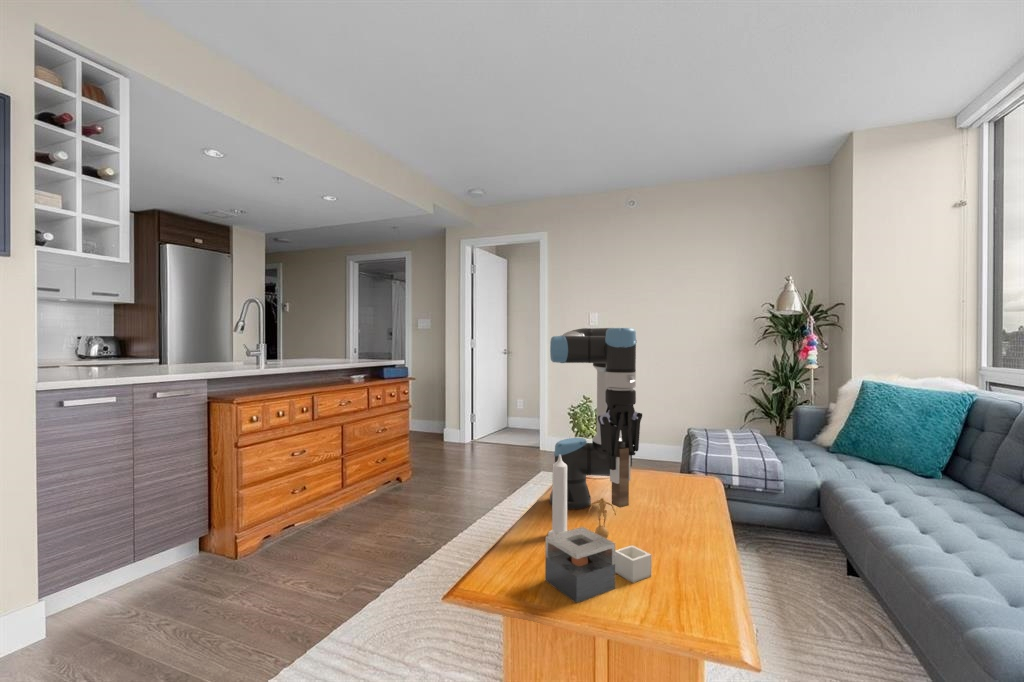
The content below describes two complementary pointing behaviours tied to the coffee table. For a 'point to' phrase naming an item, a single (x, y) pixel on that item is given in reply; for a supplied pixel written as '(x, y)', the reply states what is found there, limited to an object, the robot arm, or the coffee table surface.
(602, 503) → the figurine
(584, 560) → the button
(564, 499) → the candle
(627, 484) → the wood knob block
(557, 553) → the grey box with hole
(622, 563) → the pen cup
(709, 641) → the coffee table surface
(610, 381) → the robot arm
